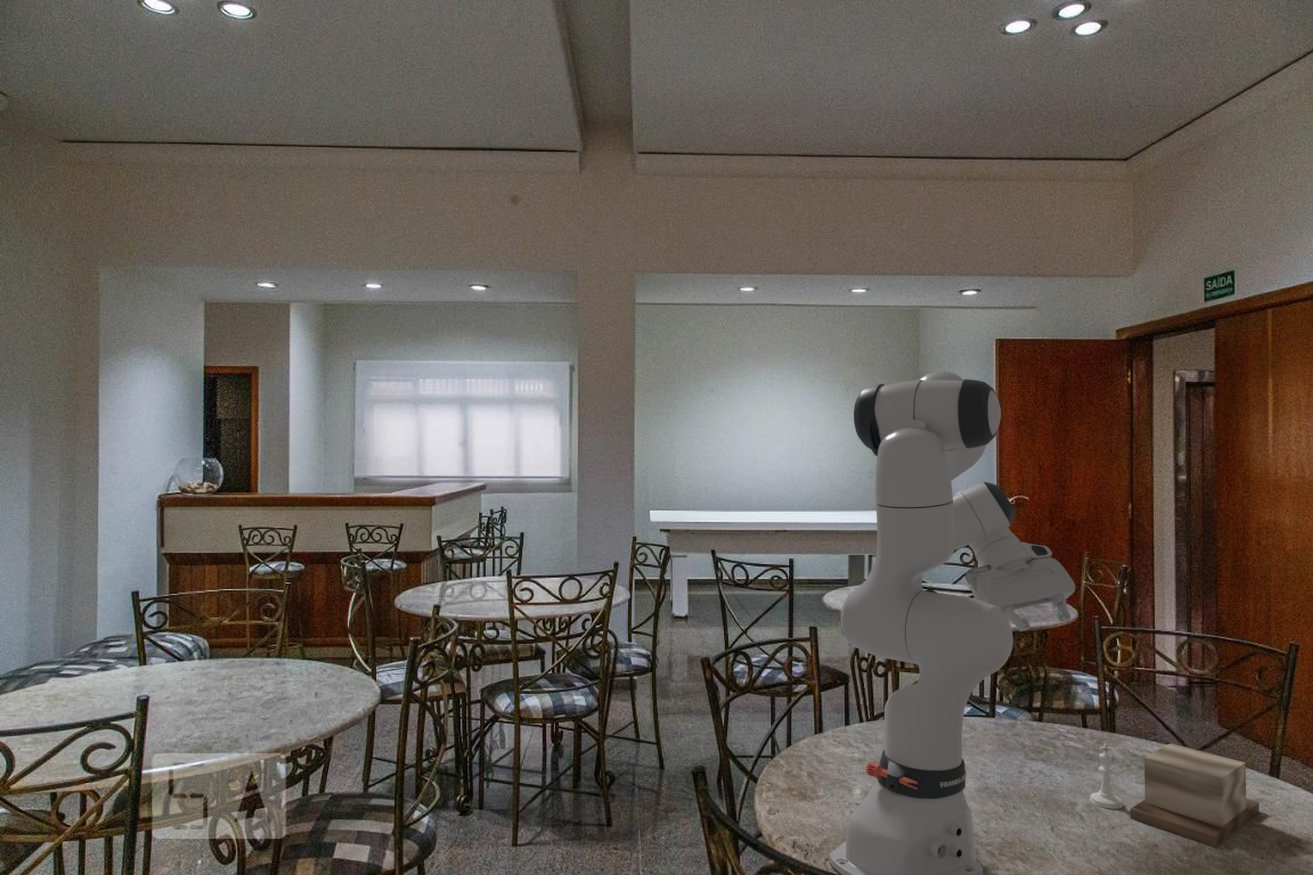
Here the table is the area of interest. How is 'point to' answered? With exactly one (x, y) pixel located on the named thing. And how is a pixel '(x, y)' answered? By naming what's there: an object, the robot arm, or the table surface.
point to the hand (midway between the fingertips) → (1046, 624)
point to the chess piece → (1106, 784)
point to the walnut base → (1194, 794)
